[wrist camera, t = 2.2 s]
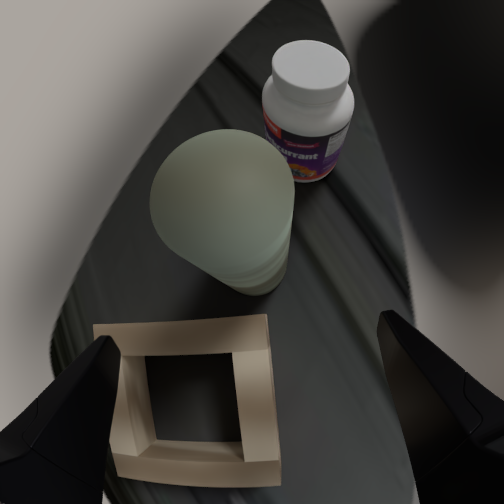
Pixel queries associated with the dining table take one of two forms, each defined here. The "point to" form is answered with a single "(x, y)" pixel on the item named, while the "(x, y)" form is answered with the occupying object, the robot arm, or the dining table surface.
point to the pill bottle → (308, 107)
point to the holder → (185, 452)
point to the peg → (227, 208)
